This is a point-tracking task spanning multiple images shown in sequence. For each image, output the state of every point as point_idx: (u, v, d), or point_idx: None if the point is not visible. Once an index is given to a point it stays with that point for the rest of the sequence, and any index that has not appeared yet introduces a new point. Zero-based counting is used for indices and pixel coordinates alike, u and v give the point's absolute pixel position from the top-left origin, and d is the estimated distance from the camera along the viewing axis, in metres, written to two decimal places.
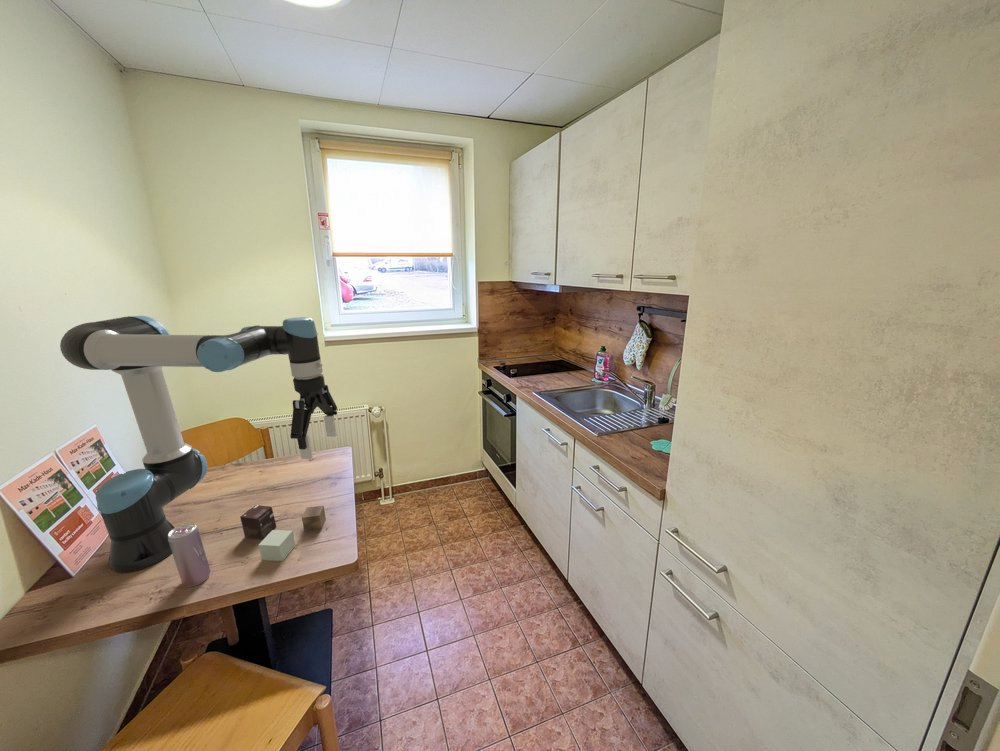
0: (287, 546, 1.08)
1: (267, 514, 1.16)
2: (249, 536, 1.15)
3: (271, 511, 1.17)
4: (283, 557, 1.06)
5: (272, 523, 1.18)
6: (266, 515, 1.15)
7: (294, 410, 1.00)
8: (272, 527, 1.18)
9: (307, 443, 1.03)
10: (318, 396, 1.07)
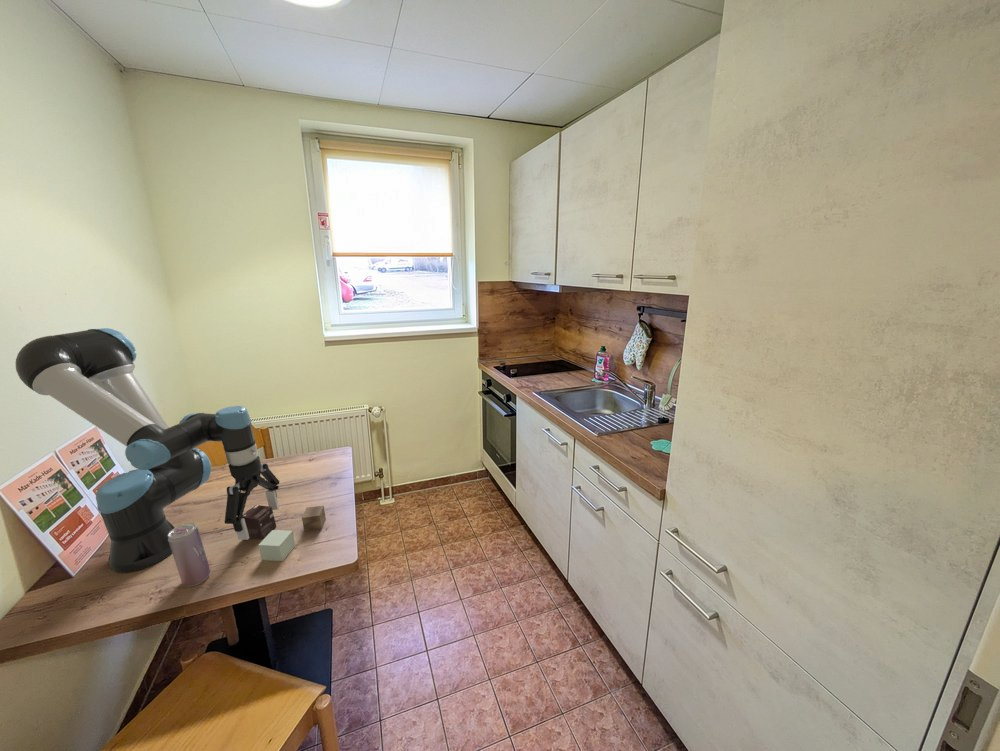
0: (287, 546, 1.08)
1: (267, 514, 1.16)
2: (249, 536, 1.15)
3: (271, 511, 1.17)
4: (283, 557, 1.06)
5: (272, 523, 1.18)
6: (266, 515, 1.15)
7: (228, 496, 1.06)
8: (272, 527, 1.18)
9: (243, 525, 1.08)
10: (255, 477, 1.13)
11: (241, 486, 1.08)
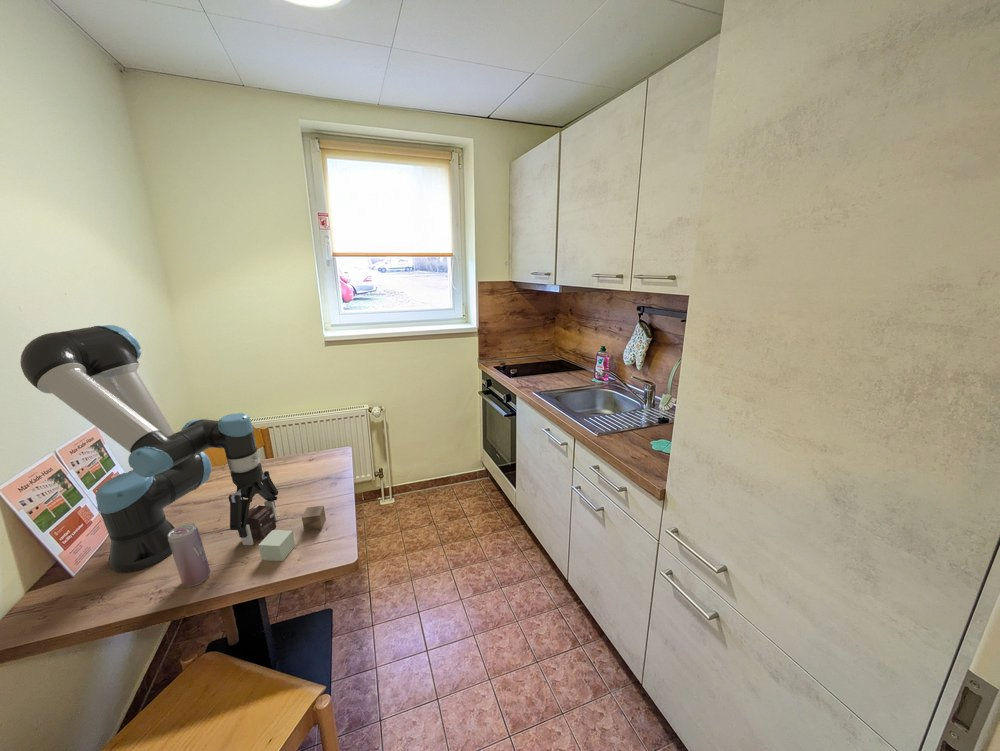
0: (287, 546, 1.08)
1: (267, 514, 1.16)
2: None
3: (271, 511, 1.17)
4: (283, 557, 1.06)
5: (272, 523, 1.18)
6: (266, 515, 1.15)
7: (231, 504, 1.07)
8: (272, 527, 1.18)
9: (248, 531, 1.10)
10: (256, 484, 1.13)
11: (242, 493, 1.09)
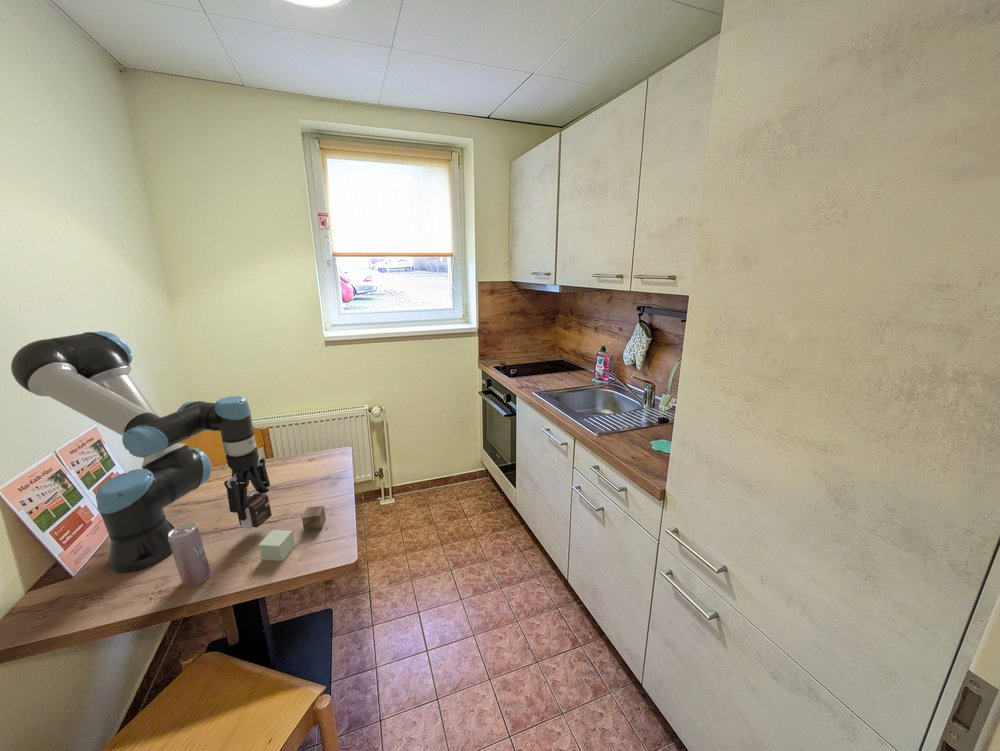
0: (287, 546, 1.08)
1: (263, 502, 1.15)
2: None
3: (267, 500, 1.16)
4: (283, 557, 1.06)
5: (268, 512, 1.17)
6: (261, 503, 1.14)
7: (227, 489, 1.06)
8: (267, 516, 1.17)
9: (247, 514, 1.11)
10: (252, 469, 1.12)
11: (238, 477, 1.07)
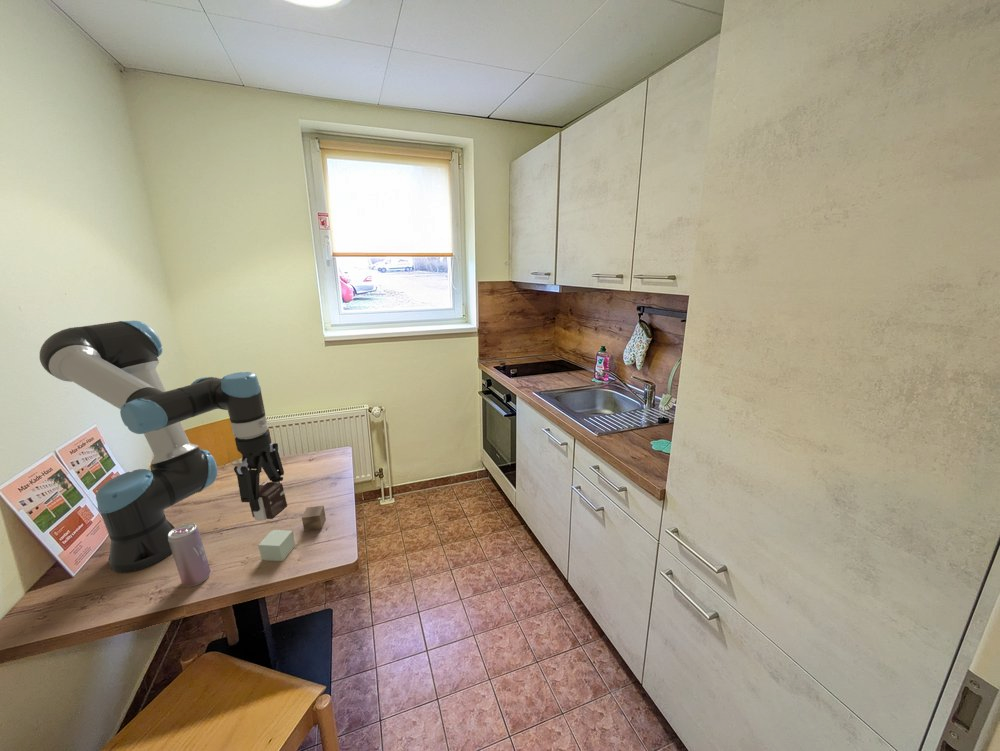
0: (287, 546, 1.08)
1: (277, 491, 1.04)
2: None
3: (281, 488, 1.05)
4: (283, 557, 1.06)
5: (283, 502, 1.06)
6: (276, 492, 1.03)
7: (238, 476, 0.95)
8: (282, 507, 1.05)
9: (260, 505, 1.00)
10: (264, 454, 1.01)
11: (249, 462, 0.96)
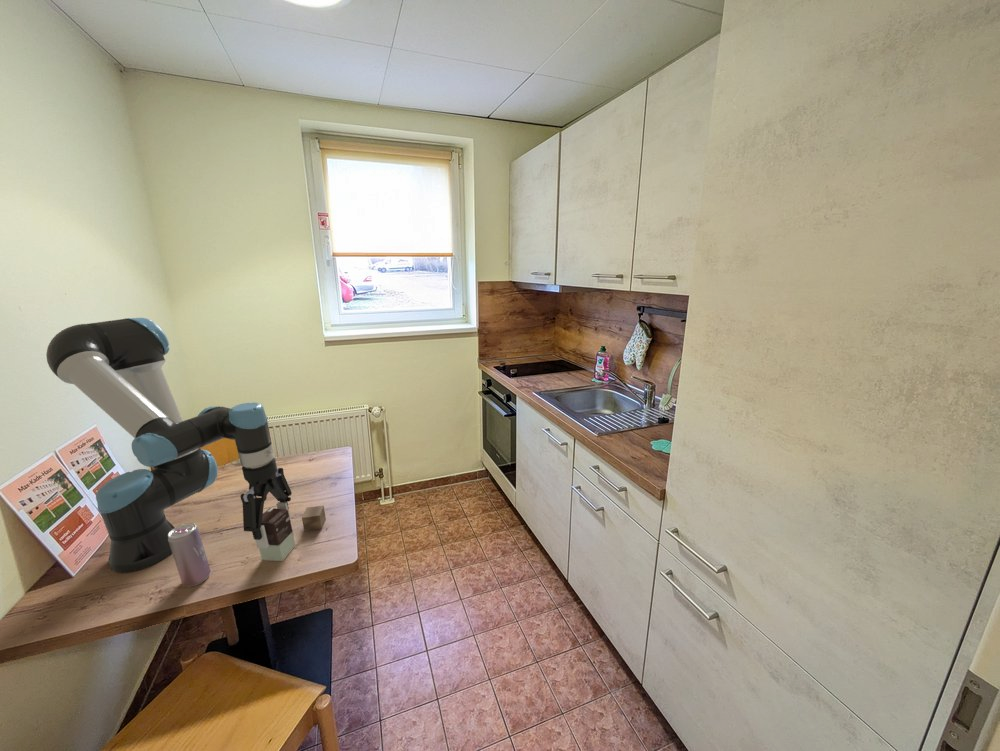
0: (287, 546, 1.08)
1: (283, 518, 1.06)
2: None
3: (287, 515, 1.07)
4: (283, 557, 1.06)
5: (288, 528, 1.08)
6: (282, 519, 1.05)
7: (243, 503, 0.97)
8: (288, 532, 1.08)
9: (263, 533, 1.01)
10: (270, 481, 1.03)
11: (255, 491, 0.99)
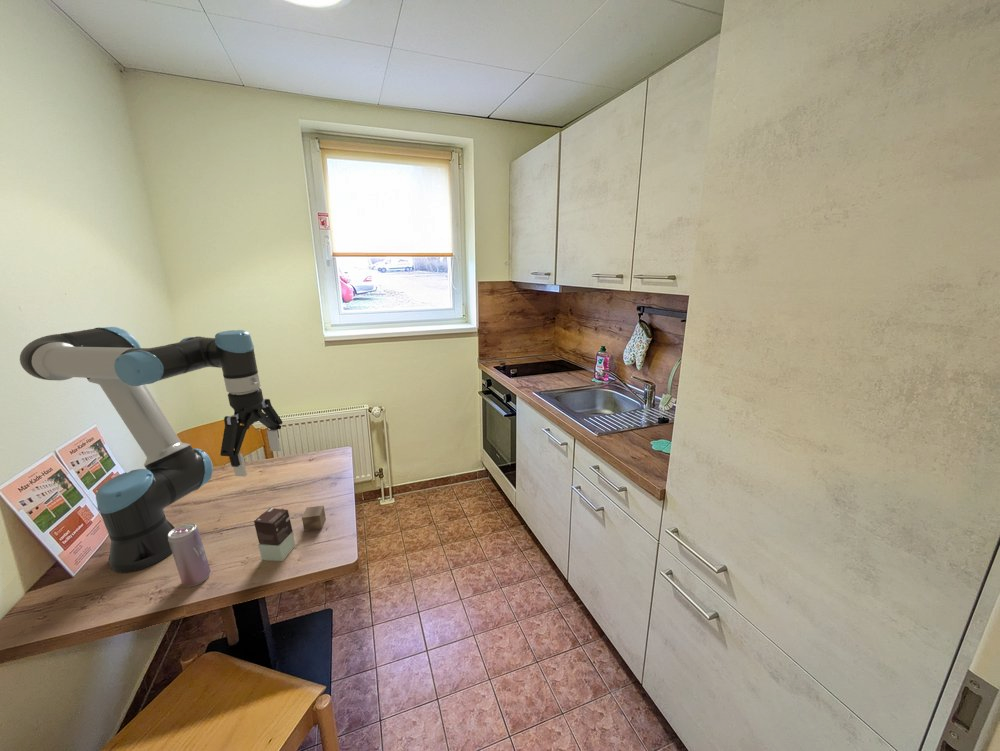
0: (287, 546, 1.08)
1: (283, 518, 1.06)
2: (264, 542, 1.05)
3: (287, 515, 1.07)
4: (283, 557, 1.06)
5: (288, 528, 1.08)
6: (282, 519, 1.05)
7: (225, 426, 0.97)
8: (288, 532, 1.08)
9: (240, 460, 0.99)
10: (256, 411, 1.04)
11: (240, 417, 0.99)
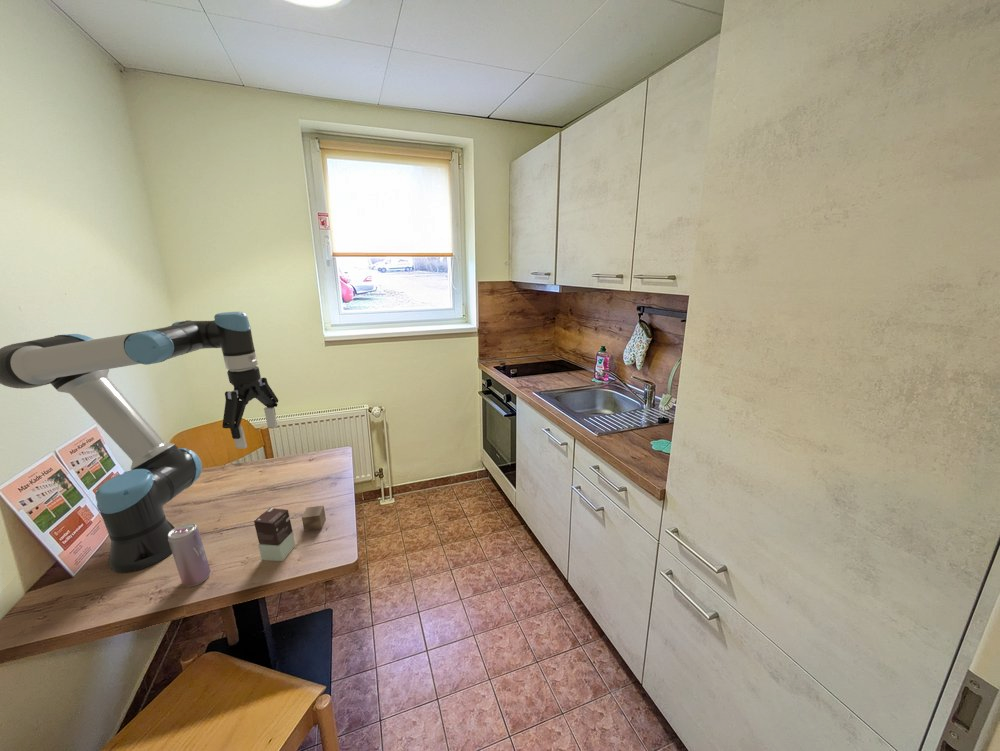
0: (287, 546, 1.08)
1: (283, 518, 1.06)
2: (264, 542, 1.05)
3: (287, 515, 1.07)
4: (283, 557, 1.06)
5: (288, 528, 1.08)
6: (282, 519, 1.05)
7: (226, 401, 1.04)
8: (288, 532, 1.08)
9: (241, 433, 1.06)
10: (254, 388, 1.11)
11: (240, 393, 1.06)
